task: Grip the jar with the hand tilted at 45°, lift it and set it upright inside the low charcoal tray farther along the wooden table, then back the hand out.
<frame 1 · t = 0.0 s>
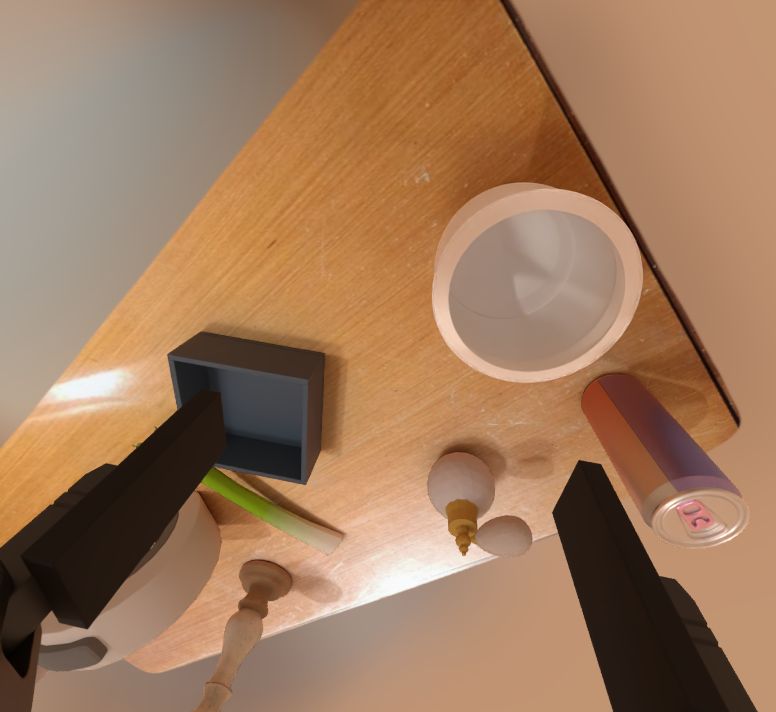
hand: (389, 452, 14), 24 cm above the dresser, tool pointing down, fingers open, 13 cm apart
jar: (496, 243, 32), on the dresser
candle holder: (267, 575, 61), on the dresser
alarm clock: (171, 509, 57), on the dresser
perfume bottle: (466, 459, 44), on the dresser
beverage can: (609, 394, 38), on the dresser
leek: (255, 480, 51), on the dresser
tray: (264, 395, 43), on the dresser
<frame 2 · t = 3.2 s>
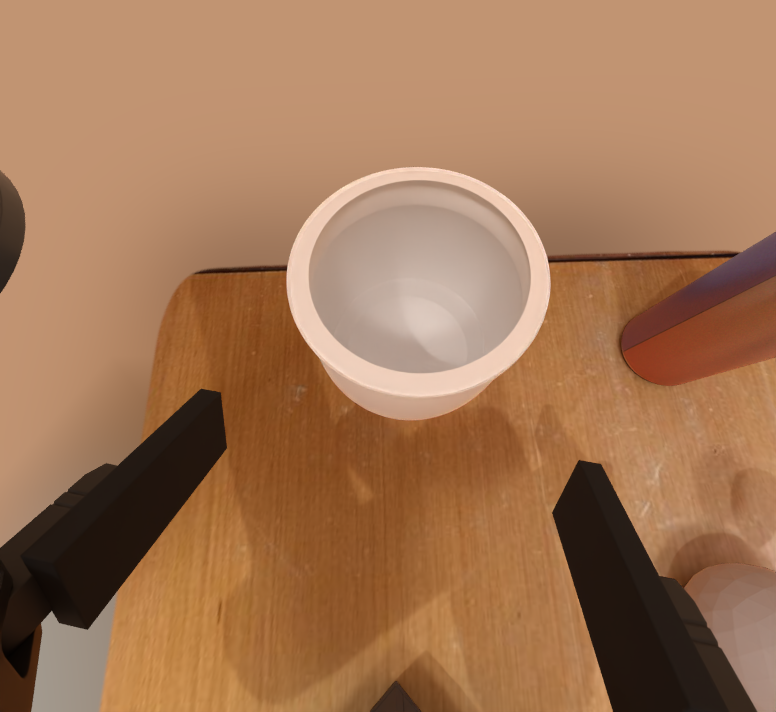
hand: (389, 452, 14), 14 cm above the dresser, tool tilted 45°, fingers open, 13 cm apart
jar: (405, 367, 29), on the dresser
perfume bottle: (704, 594, 24), on the dresser
beverage can: (652, 351, 29), on the dresser
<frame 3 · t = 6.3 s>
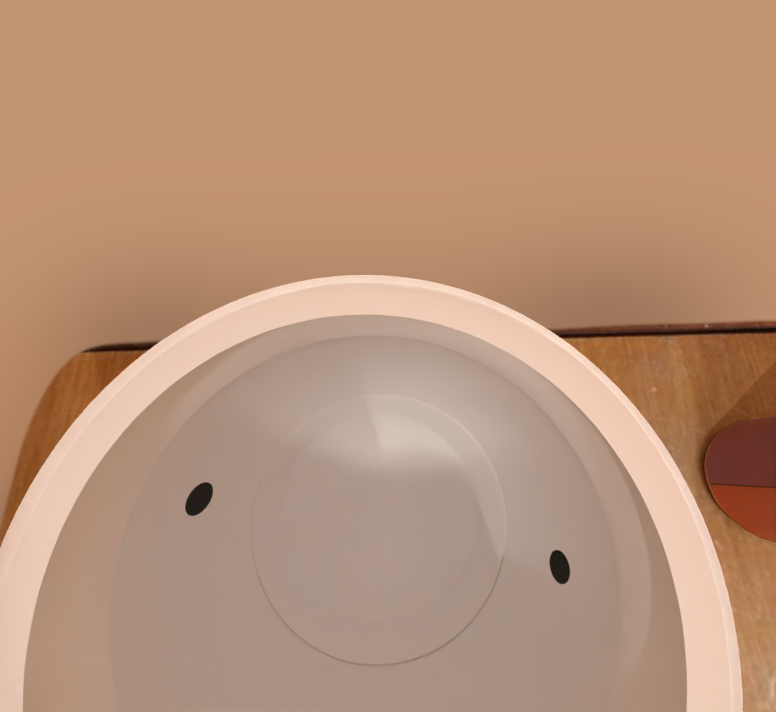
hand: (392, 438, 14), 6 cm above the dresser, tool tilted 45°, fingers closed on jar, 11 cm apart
jar: (382, 501, 20), on the dresser, touching gripper
beverage can: (750, 478, 20), on the dresser
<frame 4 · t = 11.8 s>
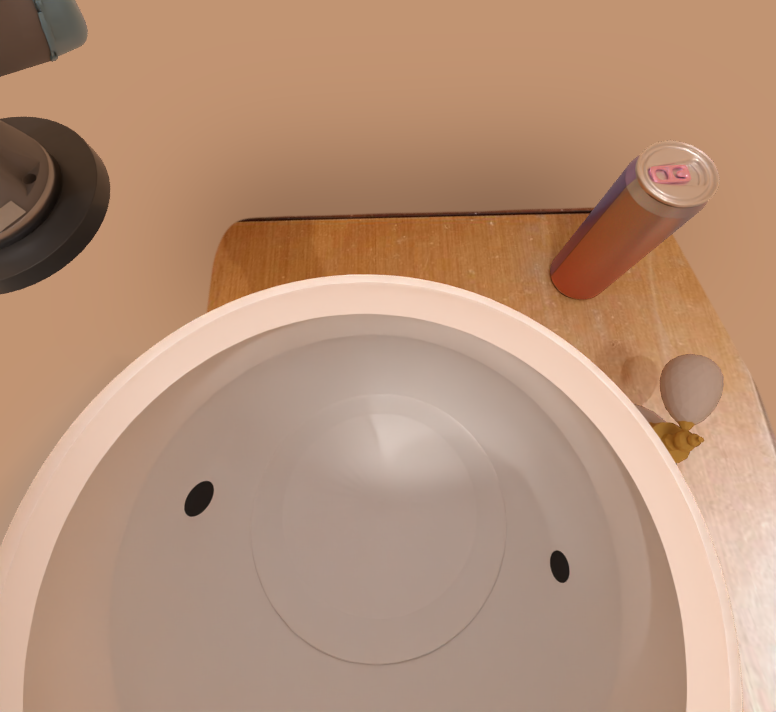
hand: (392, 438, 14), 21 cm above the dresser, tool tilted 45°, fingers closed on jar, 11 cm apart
jar: (382, 501, 20), point 15 cm above the dresser, touching gripper
perfume bottle: (597, 436, 35), on the dresser
beverage can: (574, 278, 40), on the dresser
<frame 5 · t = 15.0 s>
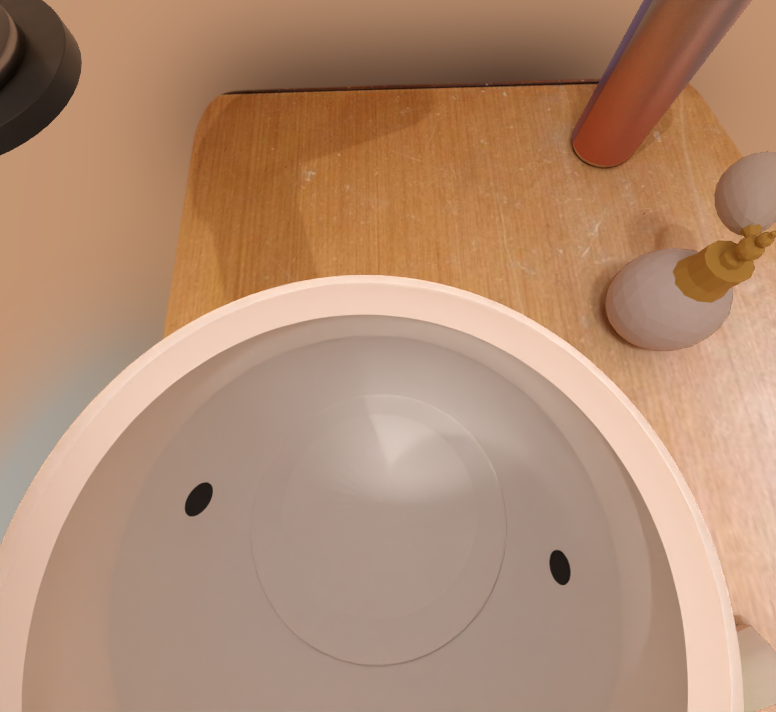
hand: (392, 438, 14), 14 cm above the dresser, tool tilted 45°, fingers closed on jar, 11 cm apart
jar: (382, 501, 20), point 8 cm above the dresser, touching gripper
perfume bottle: (629, 307, 31), on the dresser
beverage can: (598, 147, 36), on the dresser
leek: (525, 692, 23), on the dresser
when the fingers open (7 cm above the dresser, at t = 17.6 s): jar stays where it is, resting on tray.
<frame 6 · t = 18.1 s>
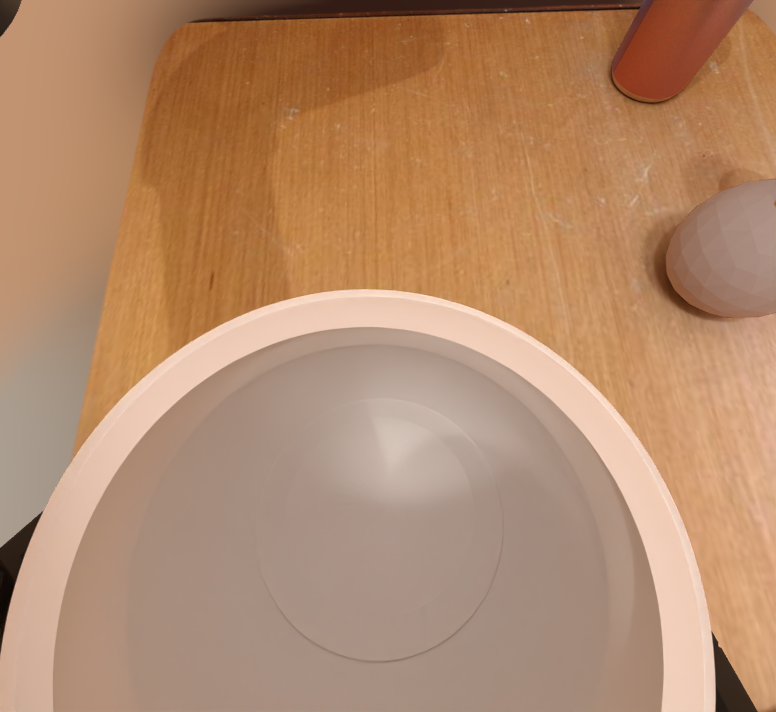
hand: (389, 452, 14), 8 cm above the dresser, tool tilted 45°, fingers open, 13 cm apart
jar: (382, 503, 20), resting on tray
perfume bottle: (691, 267, 25), on the dresser
beverage can: (643, 81, 30), on the dresser
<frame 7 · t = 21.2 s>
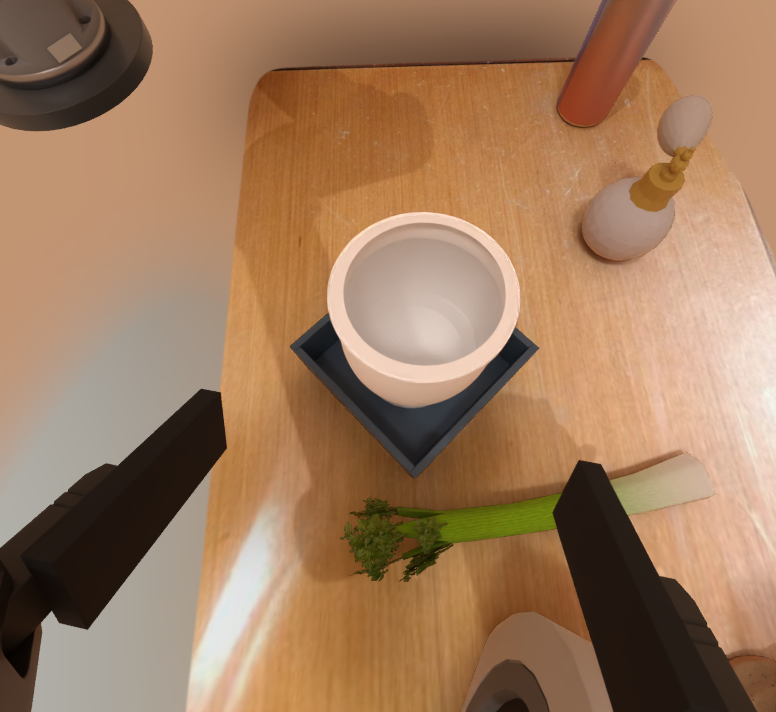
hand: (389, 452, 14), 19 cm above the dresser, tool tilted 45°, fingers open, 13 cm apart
jar: (410, 365, 34), resting on tray
perfume bottle: (602, 233, 39), on the dresser
beverage can: (579, 112, 44), on the dresser
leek: (519, 502, 31), on the dresser
tray: (410, 365, 35), on the dresser
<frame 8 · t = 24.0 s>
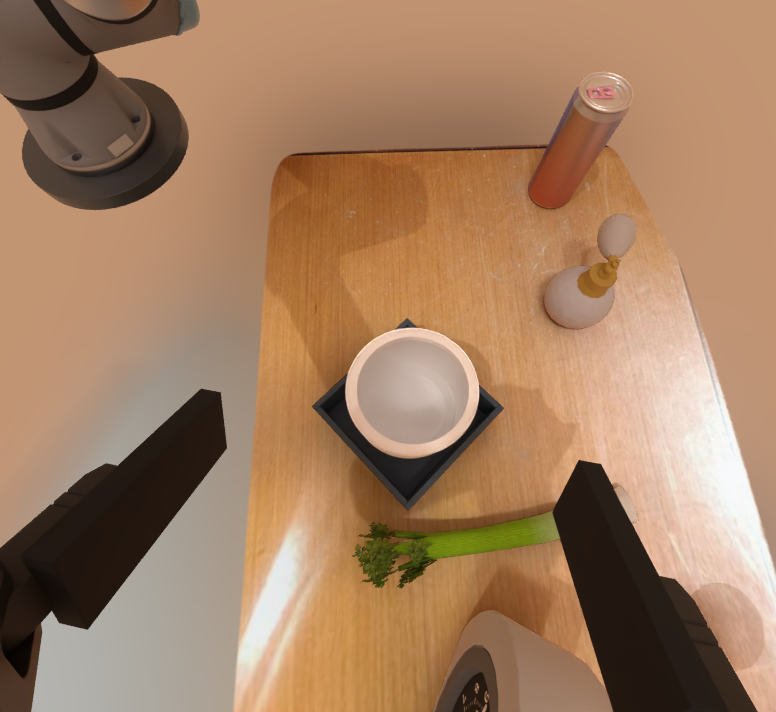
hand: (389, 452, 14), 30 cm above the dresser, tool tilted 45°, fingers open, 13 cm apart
jar: (405, 414, 43), resting on tray
perfume bottle: (562, 302, 48), on the dresser
beverage can: (547, 194, 53), on the dresser
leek: (489, 525, 40), on the dresser
tray: (405, 414, 44), on the dresser
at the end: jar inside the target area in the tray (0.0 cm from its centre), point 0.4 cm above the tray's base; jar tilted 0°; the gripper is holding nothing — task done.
